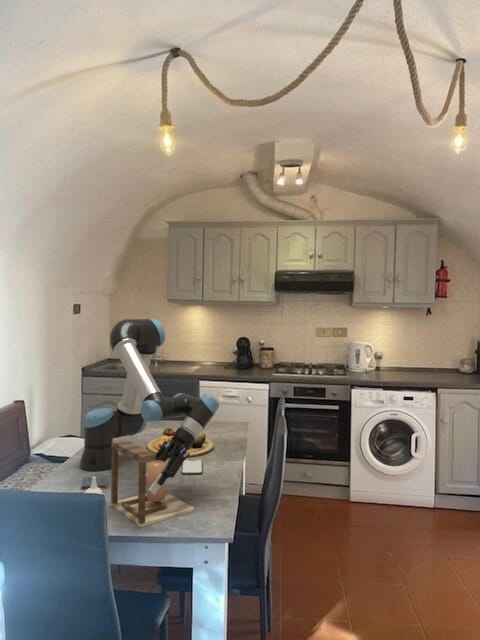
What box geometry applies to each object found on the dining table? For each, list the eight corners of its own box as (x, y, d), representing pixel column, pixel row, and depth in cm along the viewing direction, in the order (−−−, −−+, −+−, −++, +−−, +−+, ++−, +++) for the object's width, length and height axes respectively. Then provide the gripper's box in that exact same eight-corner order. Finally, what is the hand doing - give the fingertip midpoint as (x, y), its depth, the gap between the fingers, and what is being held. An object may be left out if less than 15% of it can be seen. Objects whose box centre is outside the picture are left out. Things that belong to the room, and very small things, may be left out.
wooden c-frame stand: (110, 505, 169) (111, 441, 168) (161, 492, 182) (162, 432, 181) (140, 527, 153) (141, 456, 152) (194, 511, 166) (195, 445, 165)
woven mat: (110, 480, 194) (110, 475, 194) (109, 490, 184) (109, 484, 184) (82, 481, 192) (82, 476, 192) (79, 491, 182) (79, 486, 182)
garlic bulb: (82, 503, 172) (81, 481, 171) (86, 494, 178) (86, 473, 177) (100, 503, 172) (100, 481, 171) (104, 494, 178) (104, 473, 177)
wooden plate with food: (142, 441, 248) (142, 425, 247) (204, 437, 258) (204, 421, 258) (151, 463, 218) (151, 444, 217) (221, 456, 228) (221, 438, 227)
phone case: (202, 476, 201) (202, 463, 217) (202, 472, 201) (202, 459, 217) (180, 476, 200) (182, 463, 216) (180, 472, 200) (182, 459, 216)
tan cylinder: (143, 497, 168) (143, 462, 167) (158, 493, 172) (159, 459, 171) (152, 503, 163) (152, 467, 163) (168, 498, 167) (168, 463, 167)
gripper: (209, 445, 170) (168, 504, 160) (179, 433, 184) (139, 487, 174) (197, 432, 166) (154, 492, 156) (167, 421, 180) (125, 475, 170)
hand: (146, 489), depth 165 cm, fingers closed on tan cylinder, 6 cm apart
